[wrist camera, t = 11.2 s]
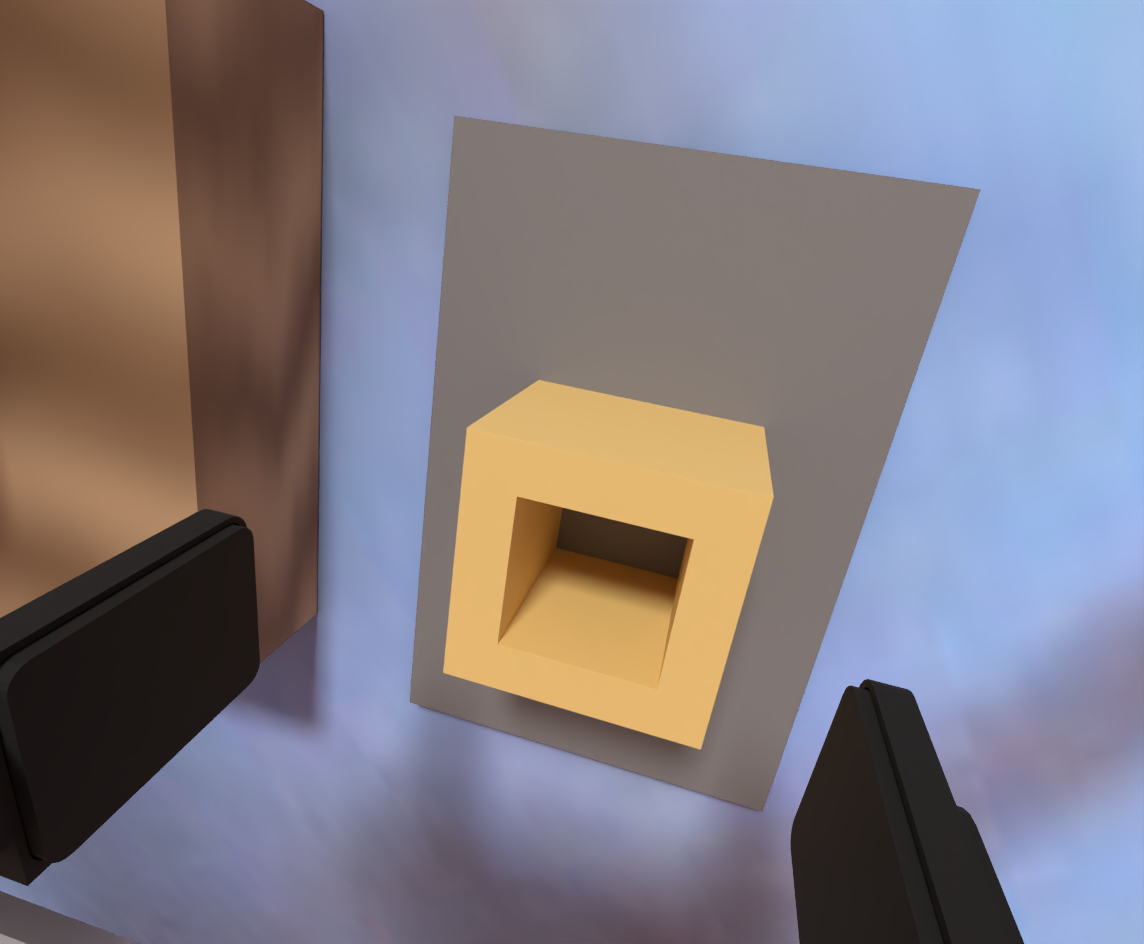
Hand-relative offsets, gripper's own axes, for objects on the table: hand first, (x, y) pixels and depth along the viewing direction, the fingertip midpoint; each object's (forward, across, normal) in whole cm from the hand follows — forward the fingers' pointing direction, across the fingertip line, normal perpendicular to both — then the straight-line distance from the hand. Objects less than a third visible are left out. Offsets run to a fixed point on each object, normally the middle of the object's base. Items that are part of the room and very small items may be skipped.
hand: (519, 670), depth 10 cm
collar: (+9, -1, +1) cm, 9 cm away
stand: (+10, +16, -1) cm, 19 cm away
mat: (+9, -1, +1) cm, 9 cm away
